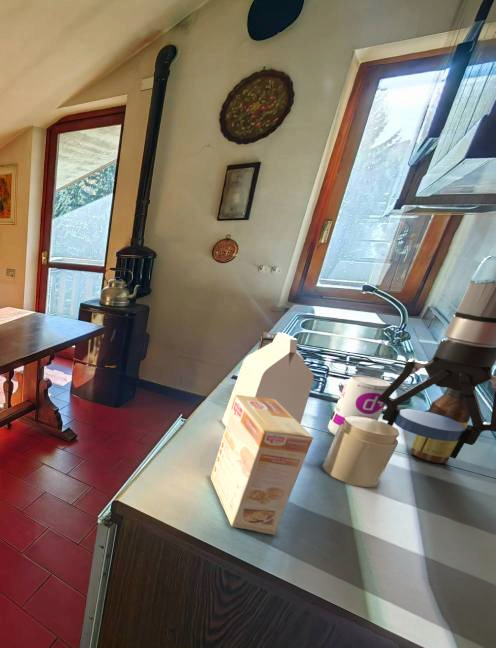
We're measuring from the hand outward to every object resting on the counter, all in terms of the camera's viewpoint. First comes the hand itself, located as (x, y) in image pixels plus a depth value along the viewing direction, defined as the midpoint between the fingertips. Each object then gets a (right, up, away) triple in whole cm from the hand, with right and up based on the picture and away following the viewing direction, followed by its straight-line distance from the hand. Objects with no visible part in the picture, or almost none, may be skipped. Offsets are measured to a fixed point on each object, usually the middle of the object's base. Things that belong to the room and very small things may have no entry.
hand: (417, 444), depth 81 cm
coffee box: (+3, +13, +51) cm, 53 cm away
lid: (0, +5, -2) cm, 6 cm away
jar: (-12, -7, +2) cm, 14 cm away
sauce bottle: (+12, -4, +9) cm, 16 cm away
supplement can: (+2, 0, +18) cm, 18 cm away
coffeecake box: (-42, -10, -7) cm, 44 cm away
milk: (-22, 0, +17) cm, 28 cm away
